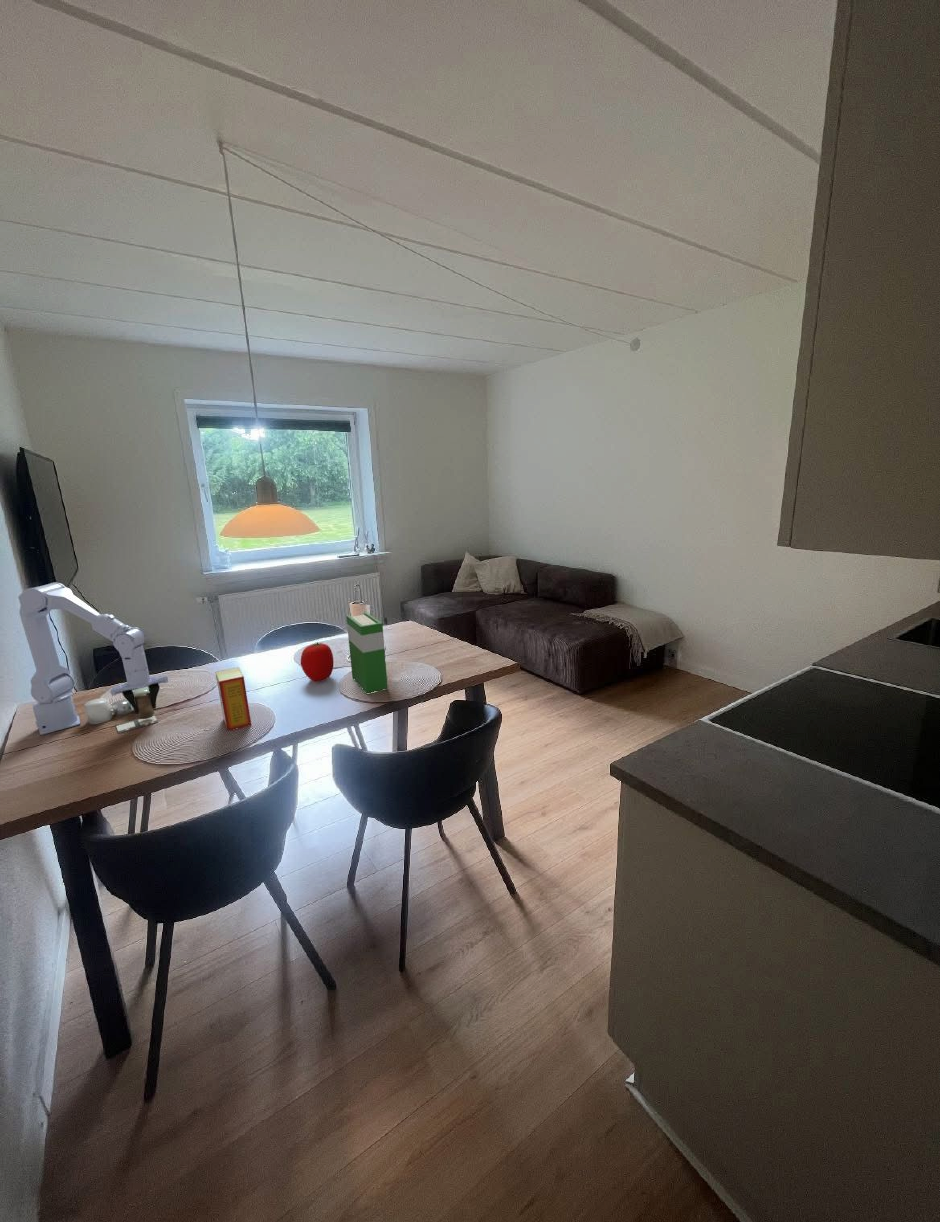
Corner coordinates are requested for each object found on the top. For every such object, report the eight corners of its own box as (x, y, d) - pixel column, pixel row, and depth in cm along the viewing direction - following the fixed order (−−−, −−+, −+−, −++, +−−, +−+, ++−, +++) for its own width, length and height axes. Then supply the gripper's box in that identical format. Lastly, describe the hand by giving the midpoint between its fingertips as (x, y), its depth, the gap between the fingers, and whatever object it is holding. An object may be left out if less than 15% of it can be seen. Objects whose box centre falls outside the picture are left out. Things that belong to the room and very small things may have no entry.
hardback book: (352, 677, 180) (346, 615, 174) (371, 673, 183) (366, 612, 177) (367, 694, 165) (360, 626, 159) (387, 689, 168) (382, 623, 162)
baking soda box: (223, 719, 150) (215, 670, 146) (246, 713, 154) (238, 665, 150) (227, 731, 143) (218, 680, 139) (251, 725, 146) (243, 675, 142)
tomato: (329, 685, 173) (325, 648, 170) (298, 686, 173) (293, 648, 170) (339, 672, 185) (336, 637, 182) (310, 673, 186) (305, 637, 182)
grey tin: (115, 717, 154) (112, 707, 153) (113, 712, 158) (111, 702, 157) (133, 712, 157) (131, 702, 156) (131, 708, 161) (128, 698, 160)
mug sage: (136, 713, 156) (132, 696, 155) (132, 706, 162) (128, 689, 160) (157, 707, 160) (154, 690, 159) (153, 700, 166) (150, 684, 164)
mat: (118, 733, 143) (118, 732, 143) (115, 725, 148) (115, 724, 148) (158, 722, 150) (157, 721, 150) (153, 714, 155) (153, 714, 155)
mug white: (89, 726, 149) (85, 708, 147) (87, 718, 154) (83, 700, 153) (113, 719, 152) (109, 702, 151) (110, 712, 158) (106, 695, 156)
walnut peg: (140, 720, 148) (135, 699, 146) (137, 716, 150) (133, 695, 149) (155, 716, 150) (151, 695, 148) (152, 712, 153) (148, 691, 151)
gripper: (108, 678, 139) (118, 722, 142) (166, 665, 148) (174, 706, 152) (105, 672, 144) (115, 714, 147) (161, 659, 153) (170, 699, 157)
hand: (145, 709), depth 150 cm, fingers closed on walnut peg, 4 cm apart
